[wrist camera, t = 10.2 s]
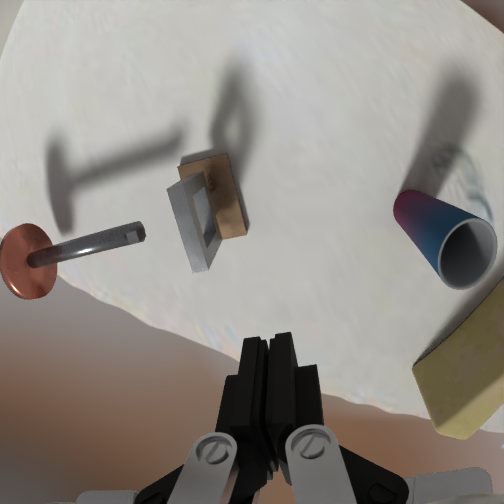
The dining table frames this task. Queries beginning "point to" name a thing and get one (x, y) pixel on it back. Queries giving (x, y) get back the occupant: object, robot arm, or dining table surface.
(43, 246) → the copper disc on rod
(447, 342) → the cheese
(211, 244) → the eye post
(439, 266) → the cup
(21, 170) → the dining table surface
